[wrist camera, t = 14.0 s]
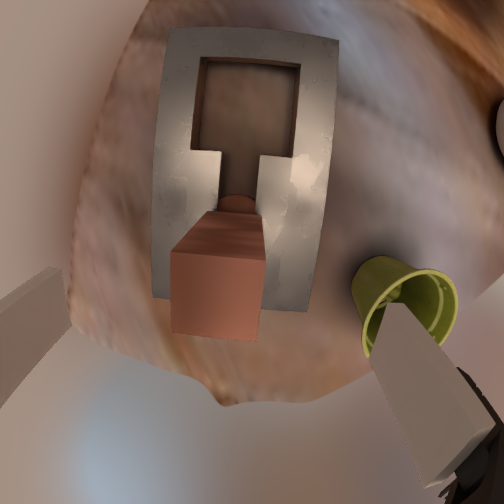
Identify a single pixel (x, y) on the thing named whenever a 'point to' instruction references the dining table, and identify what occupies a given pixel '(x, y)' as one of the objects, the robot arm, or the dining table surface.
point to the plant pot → (403, 297)
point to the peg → (220, 273)
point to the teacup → (500, 127)
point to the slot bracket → (270, 167)
